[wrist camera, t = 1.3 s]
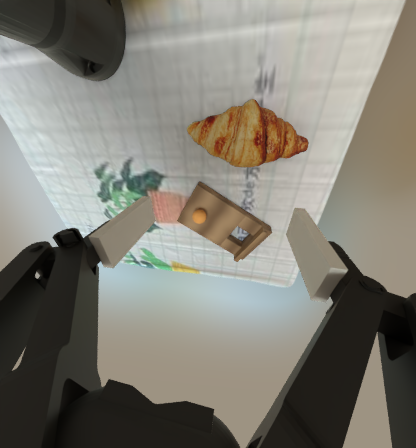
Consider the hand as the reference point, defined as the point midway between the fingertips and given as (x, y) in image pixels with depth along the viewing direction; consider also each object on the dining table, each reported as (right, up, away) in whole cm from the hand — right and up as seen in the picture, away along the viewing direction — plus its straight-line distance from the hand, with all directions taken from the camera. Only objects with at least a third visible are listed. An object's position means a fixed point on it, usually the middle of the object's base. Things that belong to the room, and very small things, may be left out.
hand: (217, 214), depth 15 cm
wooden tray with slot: (+3, 0, +25) cm, 25 cm away
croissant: (+6, +16, +15) cm, 23 cm away
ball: (-3, +1, +21) cm, 21 cm away
